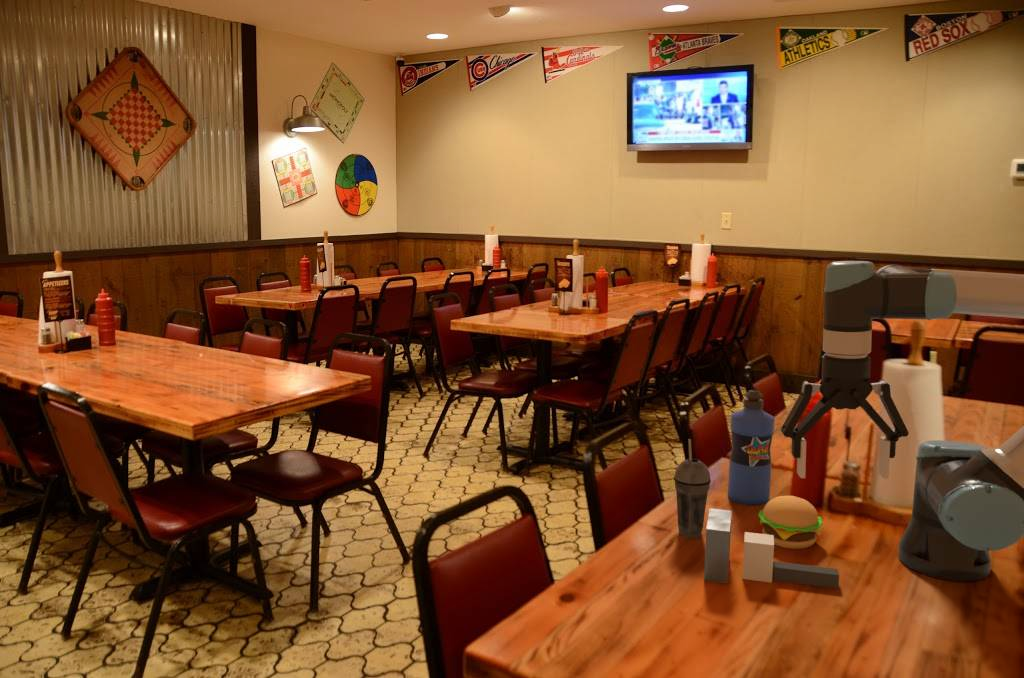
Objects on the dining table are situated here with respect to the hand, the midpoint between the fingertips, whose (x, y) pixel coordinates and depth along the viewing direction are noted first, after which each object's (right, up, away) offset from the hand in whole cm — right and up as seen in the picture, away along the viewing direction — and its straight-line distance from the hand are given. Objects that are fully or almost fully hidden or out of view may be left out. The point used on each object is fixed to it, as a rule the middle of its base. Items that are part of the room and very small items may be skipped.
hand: (841, 475), depth 138 cm
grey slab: (-19, -19, +9) cm, 28 cm away
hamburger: (-2, -17, +22) cm, 28 cm away
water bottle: (-3, -13, +44) cm, 46 cm away
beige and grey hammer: (-7, -19, +5) cm, 21 cm away
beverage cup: (-21, -16, +25) cm, 36 cm away
